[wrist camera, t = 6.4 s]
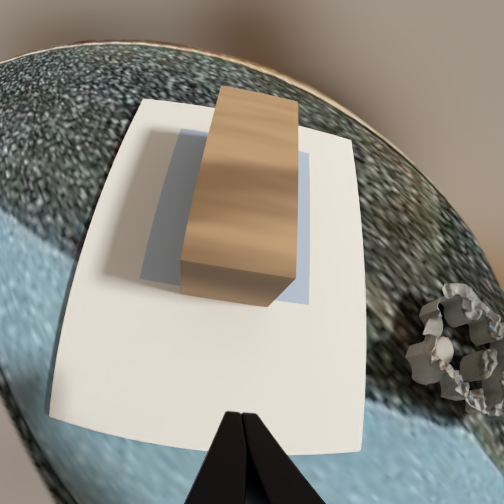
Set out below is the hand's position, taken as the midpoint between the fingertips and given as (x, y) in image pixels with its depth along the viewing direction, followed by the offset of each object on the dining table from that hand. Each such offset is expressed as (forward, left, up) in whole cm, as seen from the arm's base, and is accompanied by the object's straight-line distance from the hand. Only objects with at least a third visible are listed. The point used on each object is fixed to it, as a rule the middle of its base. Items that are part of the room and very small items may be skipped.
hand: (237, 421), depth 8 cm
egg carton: (+3, -18, -10) cm, 21 cm away
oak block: (+6, 0, -6) cm, 9 cm away
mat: (+9, 0, -9) cm, 13 cm away
